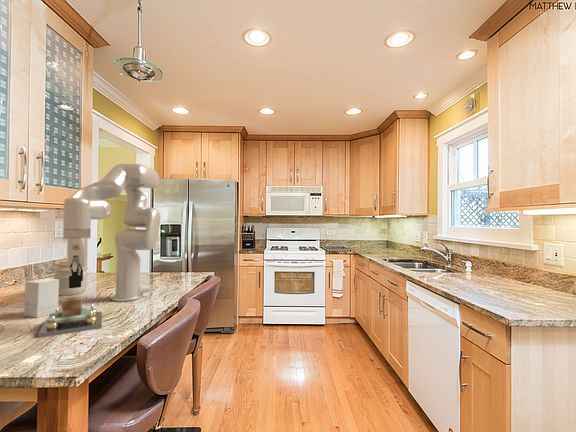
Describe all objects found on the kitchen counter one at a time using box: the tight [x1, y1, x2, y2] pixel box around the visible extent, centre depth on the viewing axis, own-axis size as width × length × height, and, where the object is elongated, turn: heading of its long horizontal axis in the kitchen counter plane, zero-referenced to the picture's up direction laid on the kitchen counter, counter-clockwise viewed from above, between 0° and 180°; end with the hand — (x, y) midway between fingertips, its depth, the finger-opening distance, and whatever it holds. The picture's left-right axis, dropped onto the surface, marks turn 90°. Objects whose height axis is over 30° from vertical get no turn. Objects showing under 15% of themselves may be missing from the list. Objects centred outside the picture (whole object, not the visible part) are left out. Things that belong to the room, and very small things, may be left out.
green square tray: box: [46, 295, 95, 323], centre depth 97 cm, size 12×12×6 cm
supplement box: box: [23, 277, 60, 318], centre depth 108 cm, size 7×7×13 cm
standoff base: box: [37, 303, 103, 338], centre depth 97 cm, size 16×16×5 cm
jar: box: [53, 260, 88, 296], centre depth 141 cm, size 13×13×18 cm
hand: (76, 284), depth 98 cm, fingers open, 9 cm apart
